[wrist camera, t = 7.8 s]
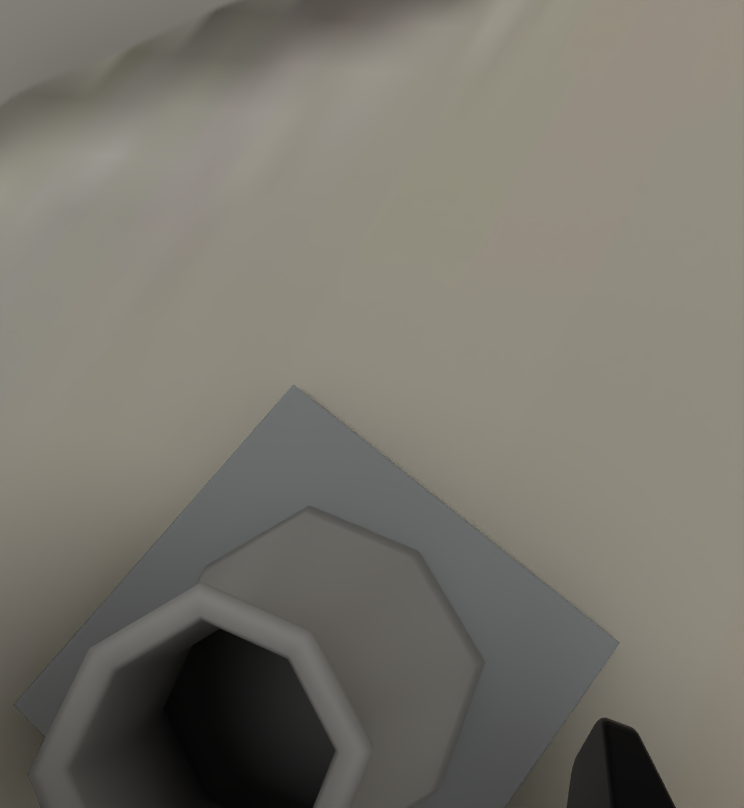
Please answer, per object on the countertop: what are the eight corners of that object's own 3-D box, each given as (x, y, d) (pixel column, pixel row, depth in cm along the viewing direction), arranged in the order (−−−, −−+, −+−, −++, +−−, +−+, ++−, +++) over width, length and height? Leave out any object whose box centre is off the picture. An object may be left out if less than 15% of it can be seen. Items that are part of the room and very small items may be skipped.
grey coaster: (612, 641, 17) (619, 642, 16) (344, 1024, 15) (341, 1041, 15) (297, 391, 19) (293, 384, 18) (26, 701, 17) (13, 705, 17)
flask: (308, 456, 18) (197, 281, 8) (539, 656, 16) (729, 727, 7) (100, 687, 17) (-317, 796, 7) (329, 928, 15) (198, 1492, 5)
